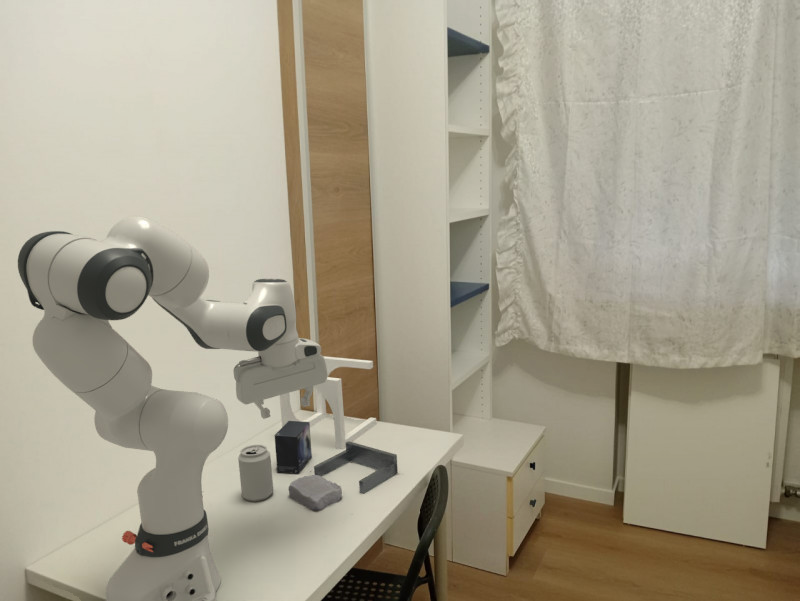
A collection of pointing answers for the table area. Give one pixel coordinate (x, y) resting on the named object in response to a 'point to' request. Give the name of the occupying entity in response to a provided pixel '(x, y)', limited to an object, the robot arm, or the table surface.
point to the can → (255, 472)
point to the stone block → (315, 492)
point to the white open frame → (331, 402)
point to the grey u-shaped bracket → (363, 456)
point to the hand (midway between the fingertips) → (286, 411)
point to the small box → (293, 447)
